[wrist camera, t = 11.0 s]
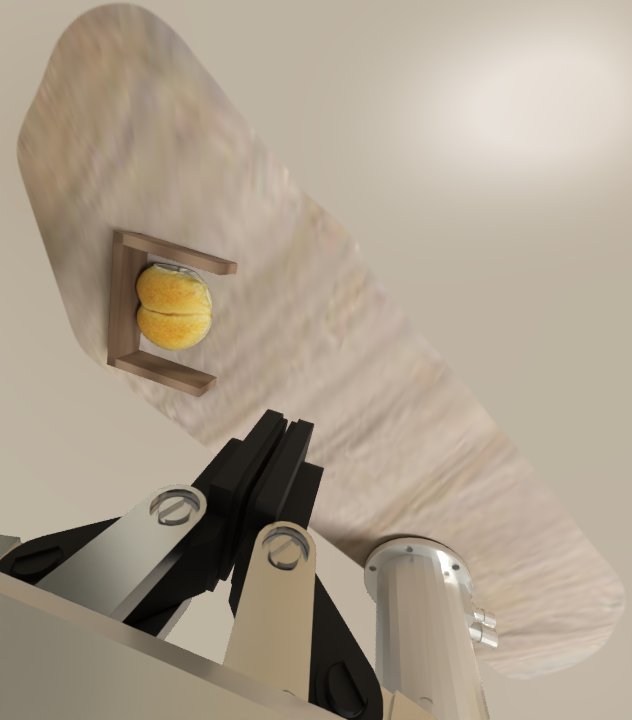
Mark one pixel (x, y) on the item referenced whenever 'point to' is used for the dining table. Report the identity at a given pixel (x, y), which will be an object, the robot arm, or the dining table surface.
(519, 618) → the dining table surface
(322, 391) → the dining table surface
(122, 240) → the brown u-shaped frame
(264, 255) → the dining table surface
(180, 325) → the bread roll
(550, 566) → the dining table surface
